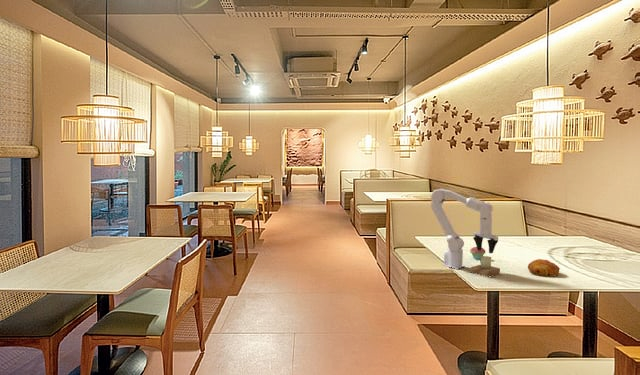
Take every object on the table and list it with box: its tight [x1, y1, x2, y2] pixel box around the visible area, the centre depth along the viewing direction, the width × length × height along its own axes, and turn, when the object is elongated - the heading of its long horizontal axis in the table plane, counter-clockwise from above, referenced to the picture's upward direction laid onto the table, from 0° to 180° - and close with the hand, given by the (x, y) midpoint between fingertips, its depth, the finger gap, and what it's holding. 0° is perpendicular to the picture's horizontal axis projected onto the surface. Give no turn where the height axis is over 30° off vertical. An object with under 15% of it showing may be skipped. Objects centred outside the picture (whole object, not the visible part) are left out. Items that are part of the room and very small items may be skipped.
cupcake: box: [469, 246, 486, 260], centre depth 247 cm, size 9×8×12 cm
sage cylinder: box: [480, 255, 492, 269], centre depth 216 cm, size 5×5×6 cm
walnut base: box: [470, 264, 501, 278], centre depth 217 cm, size 10×10×3 cm
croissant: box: [527, 258, 561, 278], centre depth 217 cm, size 14×16×8 cm
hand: (485, 251), depth 221 cm, fingers open, 7 cm apart
